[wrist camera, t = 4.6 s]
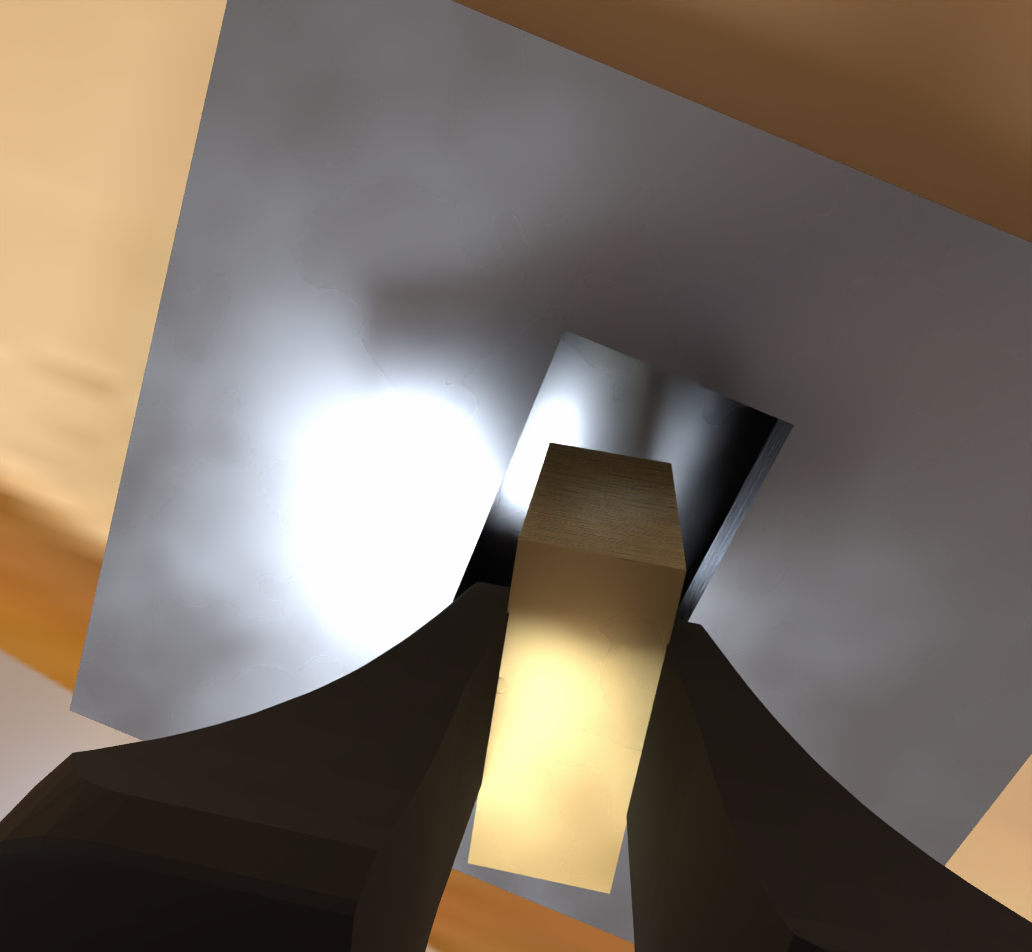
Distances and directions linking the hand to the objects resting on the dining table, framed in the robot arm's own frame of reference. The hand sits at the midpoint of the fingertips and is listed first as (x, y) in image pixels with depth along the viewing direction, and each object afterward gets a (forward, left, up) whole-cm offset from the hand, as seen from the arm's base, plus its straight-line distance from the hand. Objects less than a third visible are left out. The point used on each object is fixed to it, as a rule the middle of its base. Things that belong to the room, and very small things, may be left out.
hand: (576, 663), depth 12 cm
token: (0, 0, -3) cm, 3 cm away
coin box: (0, 0, -9) cm, 9 cm away
